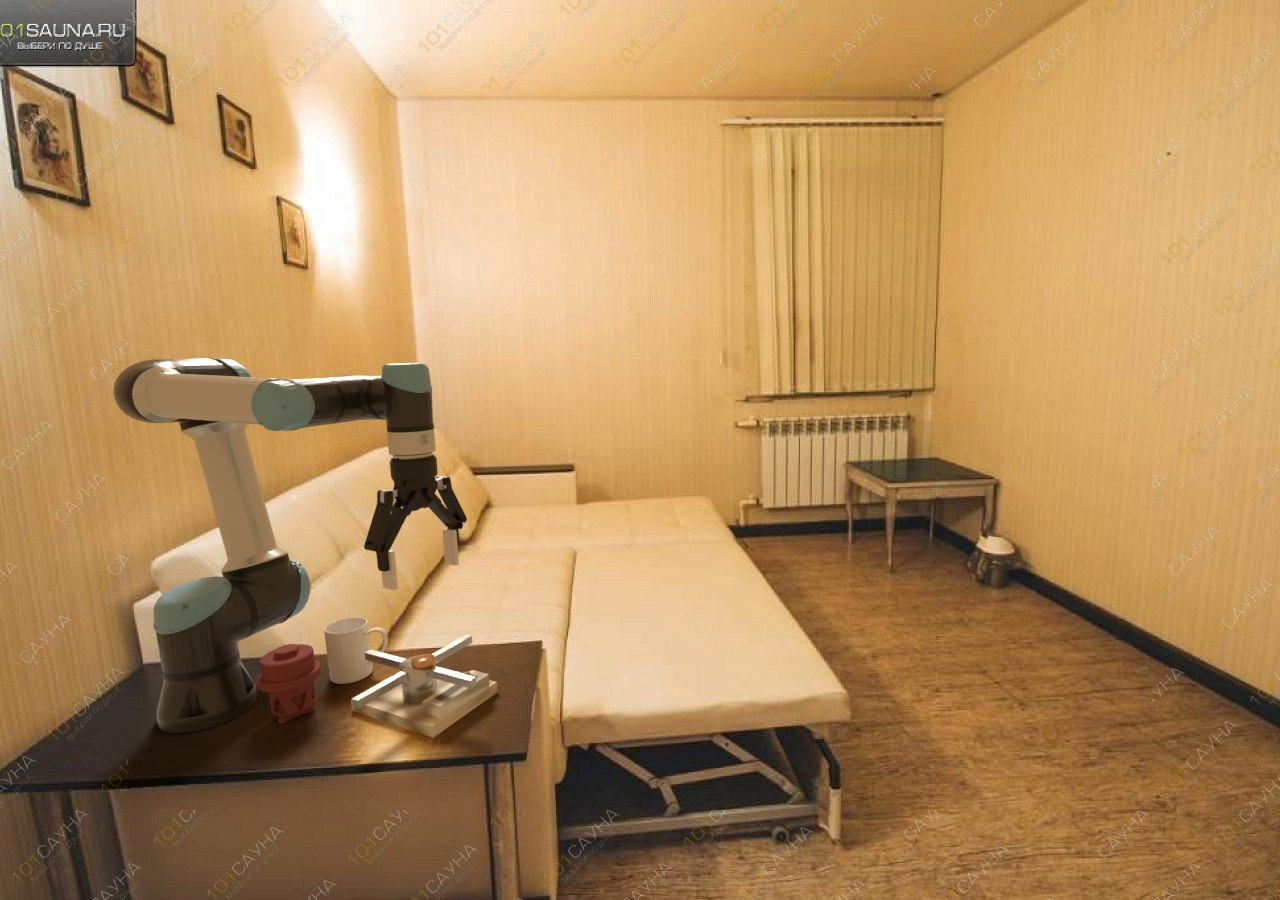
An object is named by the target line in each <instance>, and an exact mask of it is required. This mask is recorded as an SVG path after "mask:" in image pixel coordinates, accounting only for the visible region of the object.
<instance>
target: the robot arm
mask: <svg viewBox="0 0 1280 900" xmlns="http://www.w3.org/2000/svg"><path fill="white" fill-rule="evenodd" d="M112 393H113V397H114V401H115V403H116V405H117V407H118V408H119V409H120V411H121V412H122V413H123V414H125V415H126V416H128V417H129V418H130V419H133V420H136V421H139V422H143V423H149V424H167V423H169V424H170V423H179V426H180V430H181V434H183V435H184V436H187V438H191V439H192V440H193V442H194V445H195V448H196V451H197V455H198V460H199V461H200V462H199V463H200V466H201V469H202V472H203V475H204V477H203V478H204V480H205V483H206V487H207V490H208V494H209V497H210V501H211V502H210V503H211V504H212V508H213V511H214V515H215V519H216V522H217V525H218V530H219V533H220V536H221V540H222V544H223V547H224V551H225V554H226V557H227V560H226V563H225V564H224V565H223V567H222V568H221V569H220V571H221V574H222V576H215V575H214V576H207V577H202V578H200V579H197V580H195V579H194V580H190V581H187V582H184V583H182V584H179V585H177V586H175V587H173V588H171V589H169V590H168V591H166V592H164V593H163V594H162V595H160V596H159V597H158V598H157V600H156V602H155V604H154V605H153V629H154V631H155V634H156V640H157V646H158V647H157V648H158V652H159V653H158V654H159V658H160V659H159V660H160V666H161V671H162V678H163V682H162V687H161V692H160V695H159V696H160V697H159V700H158V704H157V709H156V721H157V726H158V728H159V729H160V730H162V731H163V732H165V733H172V734H181V733H182V734H183V733H185V734H186V733H193V732H196V731H197V732H198V731H202V730H205V729H209V728H212V727H215V726H219V725H221V724H223V723H226V722H228V721H231V720H232V719H235V718H237V717H238V716H240V715H242V714H244V713H245V712H246V711H248V710H249V709H250V708H251V707H252V706H253V705H254V704H255V703H256V701H257V696H258V695H257V689H256V685H255V682H254V680H253V679H252V677H251V675H250V674H249V672H248V670H247V668H246V667H245V665H244V663H243V662H242V660H241V655H240V647H239V645H240V644H239V643H240V642H241V641H242V640H245V639H248V638H249V637H251V636H254V635H256V634H258V633H260V632H262V631H265V630H267V629H269V628H271V627H273V626H276V625H278V624H283V623H285V622H286V621H288V620H289V619H291V618H293V617H294V616H297V615H298V614H299V613H301V612H302V611H303V610H304V609H305V607H306V604H307V603H308V601H309V599H310V596H311V581H310V577H309V574H308V571H307V570H306V568H305V567H304V566H302V563H301V562H299V560H296V559H293V558H290V556H289V553H288V551H287V550H285V549H283V548H281V547H279V546H278V545H277V542H276V541H277V540H276V537H275V535H274V534H275V533H274V531H273V526H272V523H271V520H270V516H269V513H268V509H267V506H266V503H265V498H264V494H263V491H262V488H261V485H260V480H259V477H258V472H257V469H256V465H255V462H254V459H253V455H252V451H251V448H250V445H249V441H248V437H247V433H246V429H247V427H248V426H249V425H259V426H263V427H264V429H266V430H267V431H270V432H282V431H283V432H288V431H297V430H299V429H300V430H301V429H305V428H310V427H319V426H326V425H334V424H341V423H348V422H357V421H362V420H363V421H365V420H367V421H368V420H370V421H371V420H372V421H373V420H375V421H376V420H380V421H381V420H382V421H384V420H385V425H386V435H387V437H386V438H387V450H388V455H390V456H392V457H391V458H390V459H389V468H390V469H389V470H390V478H391V480H392V481H393V488H392V489H388V490H387V489H378V490H377V492H376V505H375V506H376V507H375V510H374V513H373V516H372V519H371V523H370V525H369V529H368V532H367V535H366V538H365V541H364V545H363V548H364V550H366V551H370V552H375V553H376V554H375V555H376V562H377V569H378V571H380V572H381V580H382V581H381V582H382V588H383V589H386V590H390V591H396V590H398V589H399V586H398V575H397V564H396V553H395V552H396V551H395V550H394V549H393V550H392V547H393V545H394V542H395V541H396V539H397V536H398V535H399V533H400V531H401V528H402V527H403V525H404V524H405V521H406V519H407V517H408V516H411V514H412V512H415V511H419V510H420V509H427V508H429V509H430V511H431V512H432V513H433V514H434V515H435V516H436V517H437V518H438V519H439V521H441V523H443V525H444V526H445V528H442V539H443V540H442V541H443V543H442V544H443V553H444V554H443V555H444V564H446V565H450V566H455V567H456V566H459V551H458V550H459V548H458V546H459V544H460V532H459V530H462V529H463V527H464V524H465V523H466V522H467V521H468V517H467V516H466V514H465V512H464V509H463V508H462V506H461V504H460V502H459V500H458V498H457V496H456V494H455V491H454V489H453V487H452V480H451V478H450V476H441V475H438V473H439V471H438V459H437V458H438V457H437V455H436V454H434V453H435V451H436V447H437V446H436V436H435V425H434V418H433V417H434V413H433V412H434V411H433V386H432V382H431V375H430V369H429V367H428V365H427V364H425V363H422V362H406V363H399V362H398V363H385V364H384V365H382V367H381V375H355V374H350V375H349V374H348V375H341V376H333V377H320V378H299V379H297V378H293V379H292V378H274V377H273V378H271V377H253V376H252V374H251V373H250V372H249V370H248V369H247V368H245V366H243V365H242V364H240V363H239V362H237V361H235V360H233V359H230V358H229V359H228V358H216V357H211V356H209V357H203V358H202V357H198V358H197V357H195V358H173V359H172V358H171V359H169V358H168V359H163V358H160V359H159V358H157V359H154V358H153V359H147V360H142V361H139V362H135V363H134V364H130V365H129V366H128V367H126V368H125V369H123V371H121V372H120V374H118V376H117V378H116V379H115V381H114V385H113V392H112ZM436 492H438V494H439V496H440V497H439V496H438V495H437V494H436ZM440 498H441V499H440ZM442 502H443V503H442ZM463 523H464V524H463Z"/></svg>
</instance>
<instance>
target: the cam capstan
mask: <svg viewBox="0 0 1280 900" xmlns="http://www.w3.org/2000/svg"><path fill="white" fill-rule="evenodd" d="M471 644H473V636H472V635H469V634H465V635H463V636H461V637H459V638H458V639H456V640H454V641H453V642H450V643H449V644H447V645H445V646H444V647H441V648H440V649H438V650H436V651H435V652H432V653H422V654H418V655H414V656H410V657H407V658H405V657H400V656H397V655H393V654H389V653H386V652H384V653H382V652H380V651H378V650H375V649H371V650H369V651H367V652H365V660H368V661H372V663H375V664H380V665H383V666H386V667H391V668H393V669H398V670H399V672H397V673H395V674H394V675H391V676H390V677H388V678H386V679H384V680H383V681H380V682H379V683H377V684H376V685H374V686H372V687H370V688H369V689H366V690H365V691H363V692H361V693H360V694H357V695H356V696H353V697H352V698H351V700H352V704H353V707H355V708H358V709H359V708H361V707H362V706H364V705H366V704H368V703H369V702H371V701H373V700H374V699H376V698H378V697H380V696H381V695H383V694H385V693H387V692H388V691H390V690H392V689H393V688H395V687H397V686H399V685H400V684H401V686H402V696H403V700H404V701H405V702H408V703H420V702H423V701H424V700H425V699H427V698H428V697H430V696H432V695H433V694H435V693H436V692H438V686H437V680H441V681H445V682H448V683H452V684H456V685H459V686H463V687H467V688H470V689H471V688H472V687H474V686H475V685H476V677H474V676H470V675H466V674H462V673H463V672H461V673H459V672H460V671H457V672H455V671H456V670H453V671H451V670H452V669H450V670H447V669H448V668H446V669H443V668H444V667H442V668H439V667H440V666H438V667H436V666H437V664H439V662H441V661H443V660H445V659H447V658H448V657H451V656H452V655H454V654H455V653H456V652H459V651H460V650H462V649H464V648H466V647H467V646H469V645H471Z"/></svg>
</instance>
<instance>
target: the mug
mask: <svg viewBox="0 0 1280 900" xmlns="http://www.w3.org/2000/svg"><path fill="white" fill-rule="evenodd" d="M323 632H324V641H325V647H326V648H325V650H326V657H327V665H328V673H329V680H330V681H331V682H332V683H334V684H337V685H338V684H341V685H342V684H345V685H346V684H352V683H355V682H356V683H357V682H359V681H361V680H364V679H365V678H367V677H368V676H370V675H371V674H372V672H373V669H374V668H373V667H374V665H373V662H372V661H368V660H365V652H367V651H369V650H372V649H371V640H370V634H371V633H374V632H377V633H380V635H381V636H382V640H383V642H382V647H381V649H380V651H379V652H382V653H385V651H386V650H387V647H388V642H389V638H388V633H387V631H386V630H385V629H384V628H383V627H377V626H376V627H373V628H369V621H368V619H367V618H364V617H360V616H355V617H354V616H352V617H345V618H341V619H337V620H335V621H332V622H331V623H328V624H327V625H326V626H325V627H324V629H323Z"/></svg>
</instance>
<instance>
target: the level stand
mask: <svg viewBox="0 0 1280 900" xmlns="http://www.w3.org/2000/svg"><path fill="white" fill-rule="evenodd" d="M436 667H439V668H443V669H447V670H451V671H455V672H459V673H462V674H466V675H470V676H474V677H476V685H475V686H474V687H472V688H471V689H470V688H467V687H463V686H459V685H456V684H452V683H448V682H445V681H441V680H437V686H438V692H436V693H435V694H433V695H432V696H430V697H428V698H427V699H425V700H424V701H423V702H420V703H408V702H405V701H404V700H403V696H402V686H401V684H400V685H399V686H397V687H395V688H393V689H392V690H390V691H388V692H387V693H385V694H383V695H381V696H380V697H378V698H376V699H374V700H373V701H371V702H369V703H368V704H366V705H364V706H362V707H361V708H359V709H358V708H355V707H353V704H352V699H351V700H350V704H351V711H352V712H355V713H358V714H360V715H363V716H367V717H371V718H372V719H376V720H377V721H381V722H384V723H388V724H390V725H394V726H397V727H398V728H399V727H400V728H401V729H402V728H403V729H404V730H409V731H412V732H414V733H418V734H422V735H423V736H426V737H430V738H436V737H437V735H440V734H441V733H442V732H443V731H445V730H447V729H448V728H449V727H451V726H452V725H454V723H456V722H457V721H459V720H461V719H462V718H463V717H465V716H466V715H467V714H469V713H470V712H471V711H473V710H474V709H476V708H477V707H478V706H480V705H482V704H483V703H484V702H486V701H488V699H489V700H490V698H491V697H493V696H495V695H496V694H497V693H498V682H497V681H494V680H492V679H490V675H489V673H486V672H482V671H477V670H475V669H474V670H473V669H471V670H470V671H464V672H461V671H456V670H452V669H450V668H446V667H441V666H438V665H436Z"/></svg>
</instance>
